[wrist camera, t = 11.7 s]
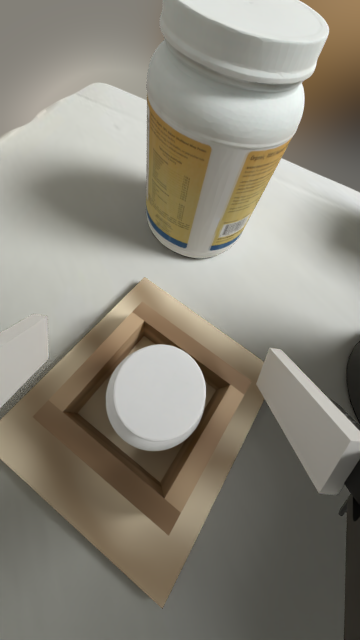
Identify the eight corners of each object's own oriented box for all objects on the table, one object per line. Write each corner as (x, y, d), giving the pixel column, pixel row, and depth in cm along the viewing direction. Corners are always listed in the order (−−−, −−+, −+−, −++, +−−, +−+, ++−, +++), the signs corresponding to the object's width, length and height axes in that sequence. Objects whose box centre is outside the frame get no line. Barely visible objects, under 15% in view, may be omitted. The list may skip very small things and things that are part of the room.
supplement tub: (229, 195, 32) (309, -10, 17) (246, 264, 27) (380, 67, 12) (144, 187, 30) (145, -55, 15) (146, 261, 25) (150, 17, 10)
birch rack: (144, 283, 24) (144, 254, 20) (271, 373, 22) (302, 363, 18) (-10, 438, 17) (-63, 445, 12) (160, 594, 15) (168, 667, 10)
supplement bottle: (191, 377, 19) (231, 346, 11) (176, 446, 17) (211, 480, 8) (131, 361, 19) (121, 314, 10) (108, 428, 17) (70, 442, 8)
